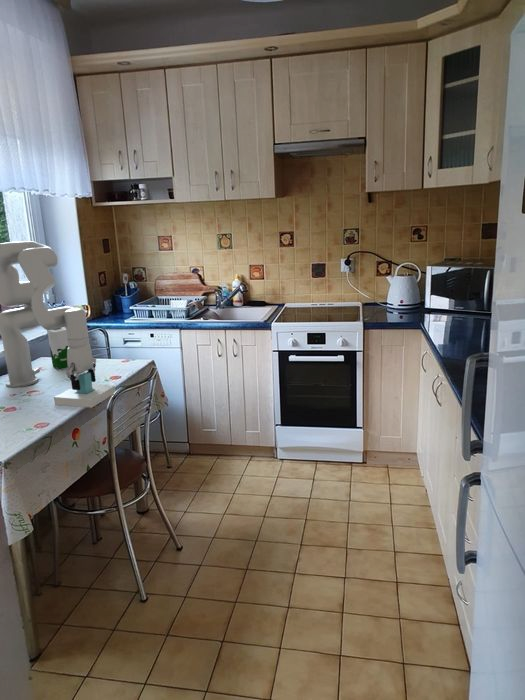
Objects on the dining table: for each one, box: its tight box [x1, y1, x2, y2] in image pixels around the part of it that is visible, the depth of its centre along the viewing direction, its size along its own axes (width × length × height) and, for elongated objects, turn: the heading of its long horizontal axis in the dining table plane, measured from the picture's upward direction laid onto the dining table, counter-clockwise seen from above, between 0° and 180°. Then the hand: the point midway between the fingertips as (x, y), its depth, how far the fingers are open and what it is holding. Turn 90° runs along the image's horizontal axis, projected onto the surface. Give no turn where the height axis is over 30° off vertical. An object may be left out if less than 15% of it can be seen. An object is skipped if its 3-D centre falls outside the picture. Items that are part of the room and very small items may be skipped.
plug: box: [74, 371, 93, 394], centre depth 201 cm, size 4×4×10 cm
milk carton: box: [46, 327, 69, 370], centre depth 245 cm, size 9×9×20 cm
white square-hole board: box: [53, 383, 116, 408], centre depth 205 cm, size 22×16×3 cm
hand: (84, 385), depth 201 cm, fingers open, 9 cm apart
